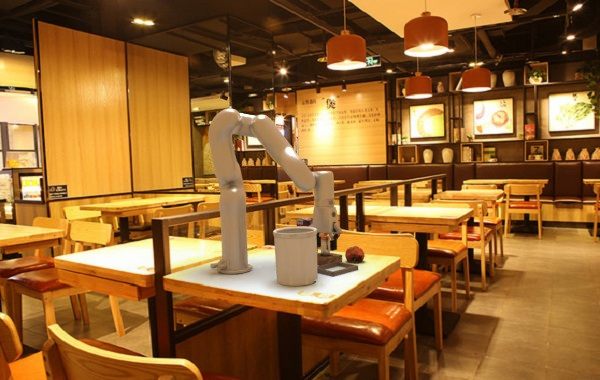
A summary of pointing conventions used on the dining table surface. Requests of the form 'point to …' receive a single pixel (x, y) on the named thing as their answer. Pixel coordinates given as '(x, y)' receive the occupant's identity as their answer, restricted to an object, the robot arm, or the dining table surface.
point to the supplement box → (305, 223)
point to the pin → (325, 246)
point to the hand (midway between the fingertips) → (325, 248)
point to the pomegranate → (354, 254)
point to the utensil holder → (296, 255)
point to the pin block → (328, 259)
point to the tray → (338, 272)
